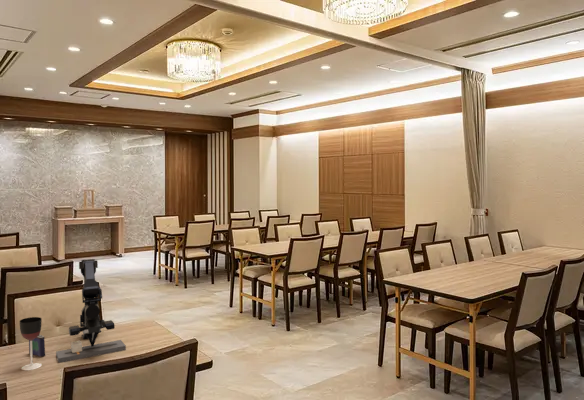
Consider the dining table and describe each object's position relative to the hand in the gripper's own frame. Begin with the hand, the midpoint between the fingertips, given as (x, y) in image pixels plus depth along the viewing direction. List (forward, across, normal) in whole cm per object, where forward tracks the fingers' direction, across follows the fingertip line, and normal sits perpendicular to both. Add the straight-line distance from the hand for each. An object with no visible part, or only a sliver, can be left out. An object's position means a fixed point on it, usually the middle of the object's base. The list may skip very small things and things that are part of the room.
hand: (92, 346), depth 207 cm
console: (+3, 0, 0) cm, 3 cm away
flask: (+3, -22, +11) cm, 24 cm away
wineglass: (+3, -24, -3) cm, 25 cm away
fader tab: (+1, -7, 0) cm, 7 cm away
